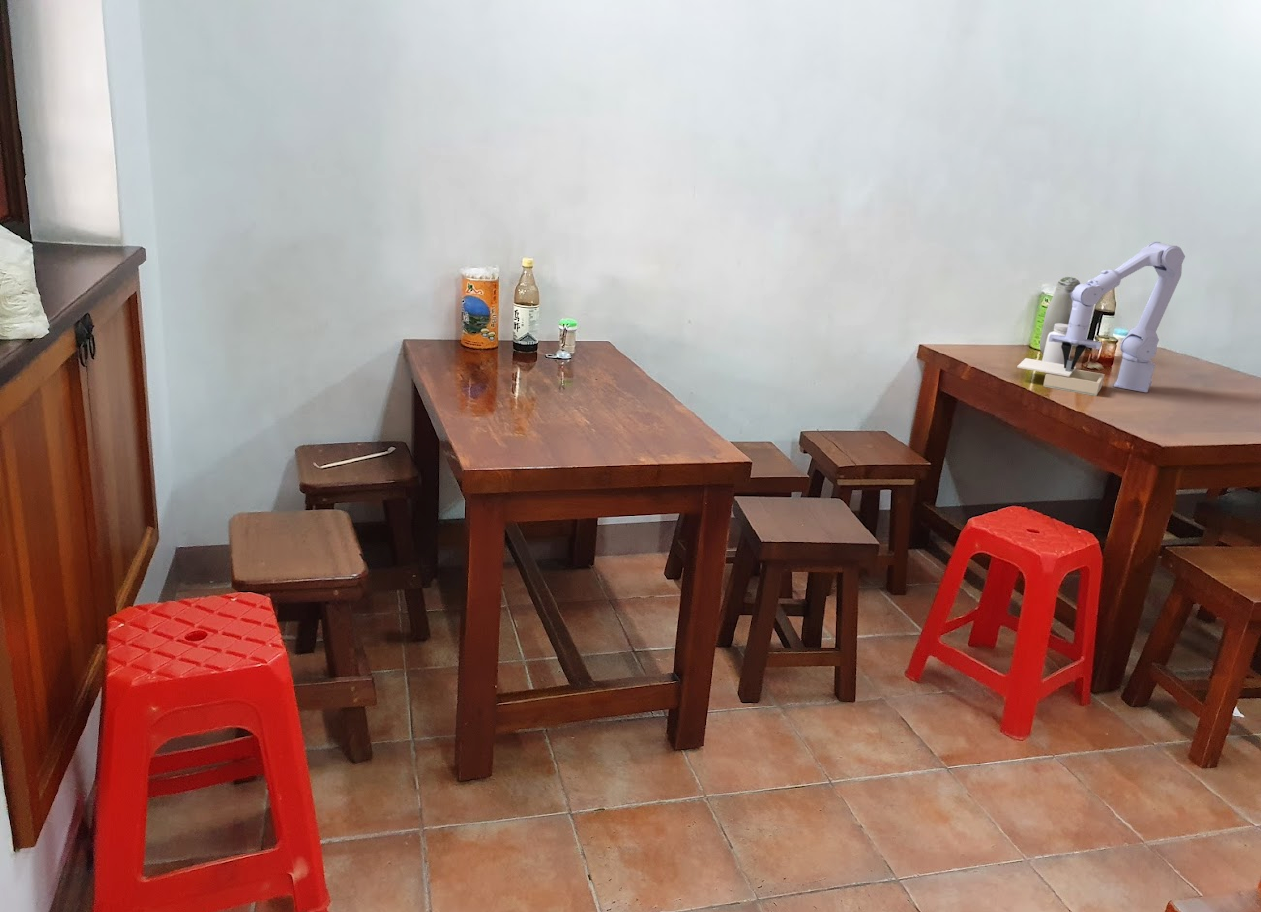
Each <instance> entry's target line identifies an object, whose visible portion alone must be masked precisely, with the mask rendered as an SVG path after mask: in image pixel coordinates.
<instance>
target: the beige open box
mask: <svg viewBox="0 0 1261 912" xmlns="http://www.w3.org/2000/svg"><path fill="white" fill-rule="evenodd" d="M1105 375H1106V374H1105V373H1100V372H1094V371H1089V370H1088V371H1087V370H1083V369H1082V370H1081V369H1078V368H1075V370H1074V371H1073V372H1072V374H1071V375H1070V376H1069V377H1068V376H1062V375H1056V374H1051V373H1045V375H1044V380H1043V384H1042V385H1043V387H1045V388H1051V389H1055V390H1062V391H1066V392H1072V393H1077V394H1083V395H1088V396H1094V397H1097V395H1098V393H1099V392H1100V390H1102V387H1103V384H1104V380H1105Z"/></svg>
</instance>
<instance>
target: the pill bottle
mask: <svg viewBox="0 0 1261 912" xmlns="http://www.w3.org/2000/svg"><path fill="white" fill-rule="evenodd" d="M1067 328H1068V325H1067V324H1061V323H1057V324H1055V325H1054V331H1053V332H1050V333H1049V334H1048V337H1047V341H1046V345H1045V350H1044V354H1042V359H1041V361H1046V362H1052V363H1058V364H1064V356H1063V352H1062V348H1061V345H1062V343H1058V342H1050V341H1049V337H1050V335H1051V334H1052V335H1061V336H1066V333H1067ZM1073 346H1074V345H1072V347H1071V351H1070V354H1069V358H1070V357H1071V353H1072V348H1073ZM1070 359H1071V358H1070Z"/></svg>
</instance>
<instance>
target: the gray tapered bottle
mask: <svg viewBox="0 0 1261 912" xmlns="http://www.w3.org/2000/svg"><path fill="white" fill-rule="evenodd" d="M1079 284H1081V282H1080V280H1079V279H1077V278H1075V277H1072V276H1066V277H1062V278H1061V279H1060V280H1059V281H1058V282H1057V284H1056V288H1055V290H1054V293H1053V296H1052V298H1051V299H1050V302H1049V303H1048V306H1047V308H1046V311H1045V315H1044V317H1043V318H1044V319H1043V325H1042V329H1041V334H1040V340H1039V350H1040V353H1041V354H1042V355H1043V354H1044V350H1045V345H1046V341H1047V337H1048V334H1049V333H1050V332H1053V331H1054V325H1055V324H1057V323H1061V324H1067V325H1068V324H1069V319H1070V315H1071V310H1072V306H1073V305H1072V303H1073V300H1072V298H1071V292H1073V290H1074V288H1075V287H1076V286H1078V285H1079Z"/></svg>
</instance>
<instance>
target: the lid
mask: <svg viewBox="0 0 1261 912" xmlns="http://www.w3.org/2000/svg"><path fill="white" fill-rule="evenodd" d="M1073 360H1074V358H1069V359H1068V361H1067V365H1066V368H1064V364H1058V363H1052V362H1046V361H1042V360H1039V359H1033V358H1029V357H1025V358H1024V359H1023V360H1022V361H1021V362H1020V363H1019V364H1018V365H1017V366H1016V367H1017V369H1023V370H1028V371H1035V372H1040V373H1045V374H1046V373H1051V374H1056V375H1062V376H1068V377H1069V376H1070V375H1071V374H1072V372H1073V371H1074V370H1075V369H1077V366H1075V367H1074V369H1071V367H1072V363H1073Z"/></svg>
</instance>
